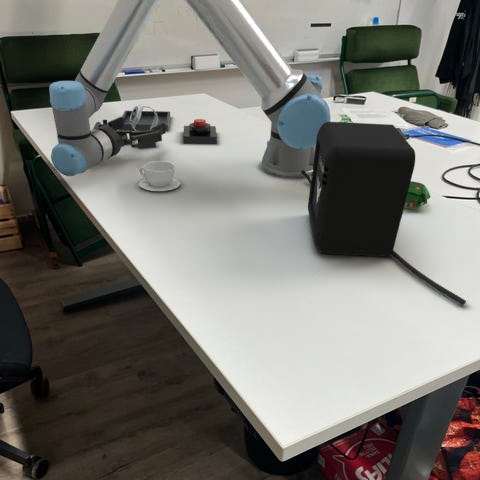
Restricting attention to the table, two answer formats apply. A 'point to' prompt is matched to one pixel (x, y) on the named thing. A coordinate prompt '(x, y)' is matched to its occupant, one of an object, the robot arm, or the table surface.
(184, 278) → the table surface
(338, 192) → the air purifier
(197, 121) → the button
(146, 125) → the tray
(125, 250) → the table surface
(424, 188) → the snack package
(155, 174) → the teacup
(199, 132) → the control block
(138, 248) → the table surface
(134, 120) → the watch
